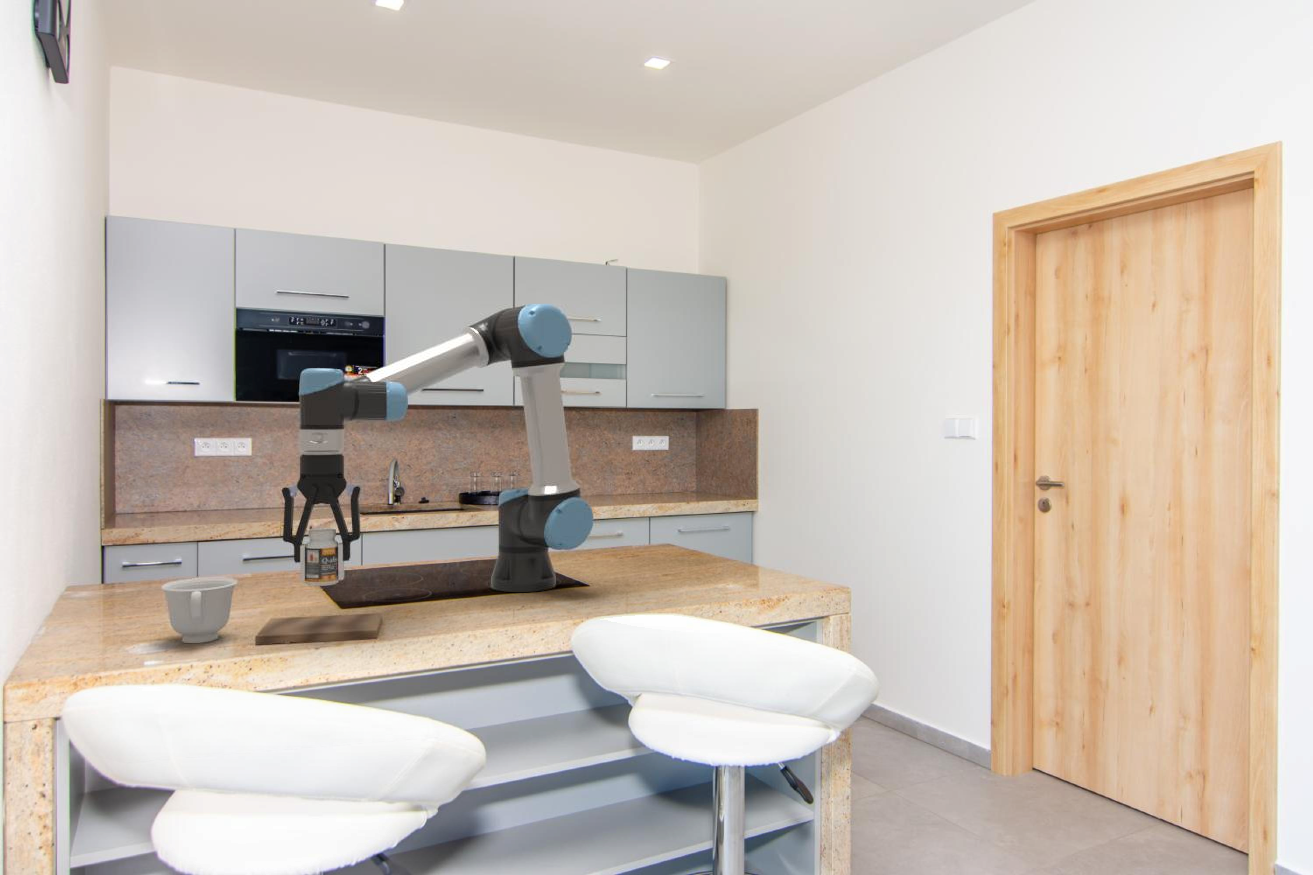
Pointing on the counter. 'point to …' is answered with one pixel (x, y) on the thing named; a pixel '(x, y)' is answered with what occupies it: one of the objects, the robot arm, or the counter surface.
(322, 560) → the pill bottle
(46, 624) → the counter surface
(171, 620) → the teacup
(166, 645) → the counter surface
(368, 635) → the walnut board
